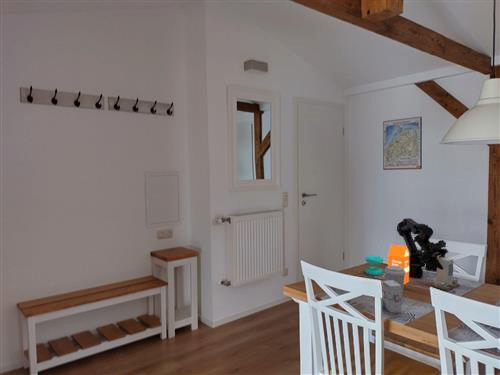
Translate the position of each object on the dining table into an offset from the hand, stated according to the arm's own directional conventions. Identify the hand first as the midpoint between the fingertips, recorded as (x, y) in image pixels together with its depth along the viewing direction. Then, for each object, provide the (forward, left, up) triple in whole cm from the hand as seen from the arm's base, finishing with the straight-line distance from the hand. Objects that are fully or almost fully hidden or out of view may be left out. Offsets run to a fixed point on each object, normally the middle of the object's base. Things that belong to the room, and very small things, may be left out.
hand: (445, 268), depth 193 cm
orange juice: (-23, -1, -10) cm, 25 cm away
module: (0, 0, -8) cm, 8 cm away
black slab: (-8, +34, -10) cm, 36 cm away
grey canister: (-20, -32, -10) cm, 39 cm away
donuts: (-38, +9, -10) cm, 40 cm away
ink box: (-19, -46, -10) cm, 51 cm away
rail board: (0, 0, -10) cm, 10 cm away
